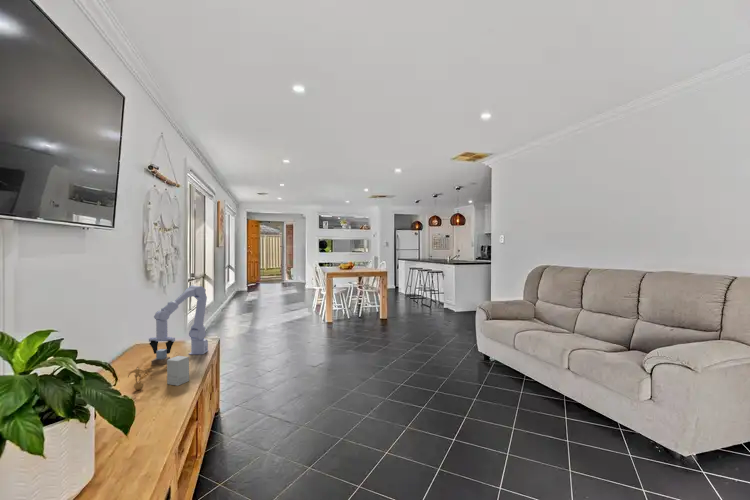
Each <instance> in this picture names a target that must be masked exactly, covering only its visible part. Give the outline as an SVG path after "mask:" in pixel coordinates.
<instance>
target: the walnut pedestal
mask: <svg viewBox="0 0 750 500" xmlns="http://www.w3.org/2000/svg"><path fill="white" fill-rule="evenodd" d="M168 359H171V357H170V356H167V357H166V358H165V359H156V357H155V358H154V359H152V360H151V366H164V365H167V360H168Z"/></svg>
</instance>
